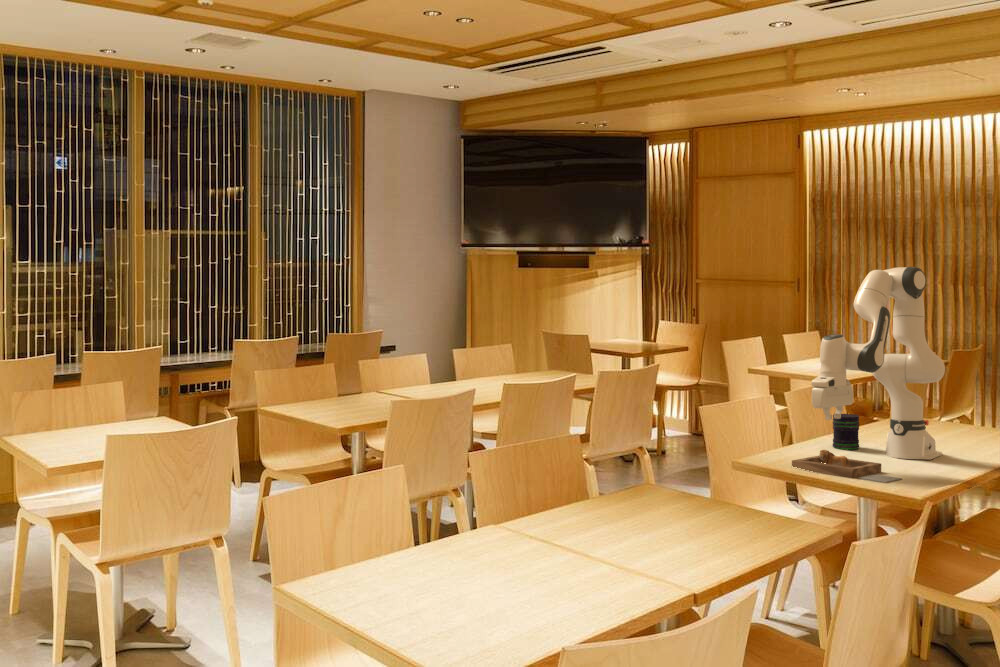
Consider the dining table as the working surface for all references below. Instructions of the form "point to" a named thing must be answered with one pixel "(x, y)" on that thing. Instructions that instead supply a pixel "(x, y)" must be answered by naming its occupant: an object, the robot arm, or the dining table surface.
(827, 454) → the lion figurine
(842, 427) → the storage jar
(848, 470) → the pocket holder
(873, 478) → the rubber mat
